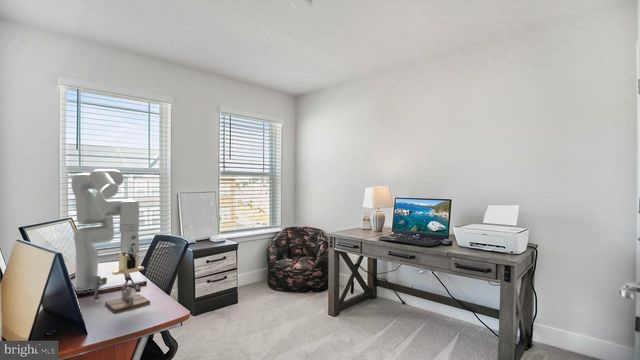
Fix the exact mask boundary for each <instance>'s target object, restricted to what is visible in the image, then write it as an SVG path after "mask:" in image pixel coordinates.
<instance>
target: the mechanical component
mask: <svg viewBox="0 0 640 360" xmlns="http://www.w3.org/2000/svg"><path fill="white" fill-rule="evenodd" d="M86 280H87V285H91V286H94V288H93V289H92V290H94V292H93V293H94V295H93V297H94V299H97V298H99V289H100V287H102V286H105V285H106V284H107V281H108V278H107V277H102V278H101V276H100V275H98V276H89V277H87V278H86ZM99 286H100V287H99Z"/></svg>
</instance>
